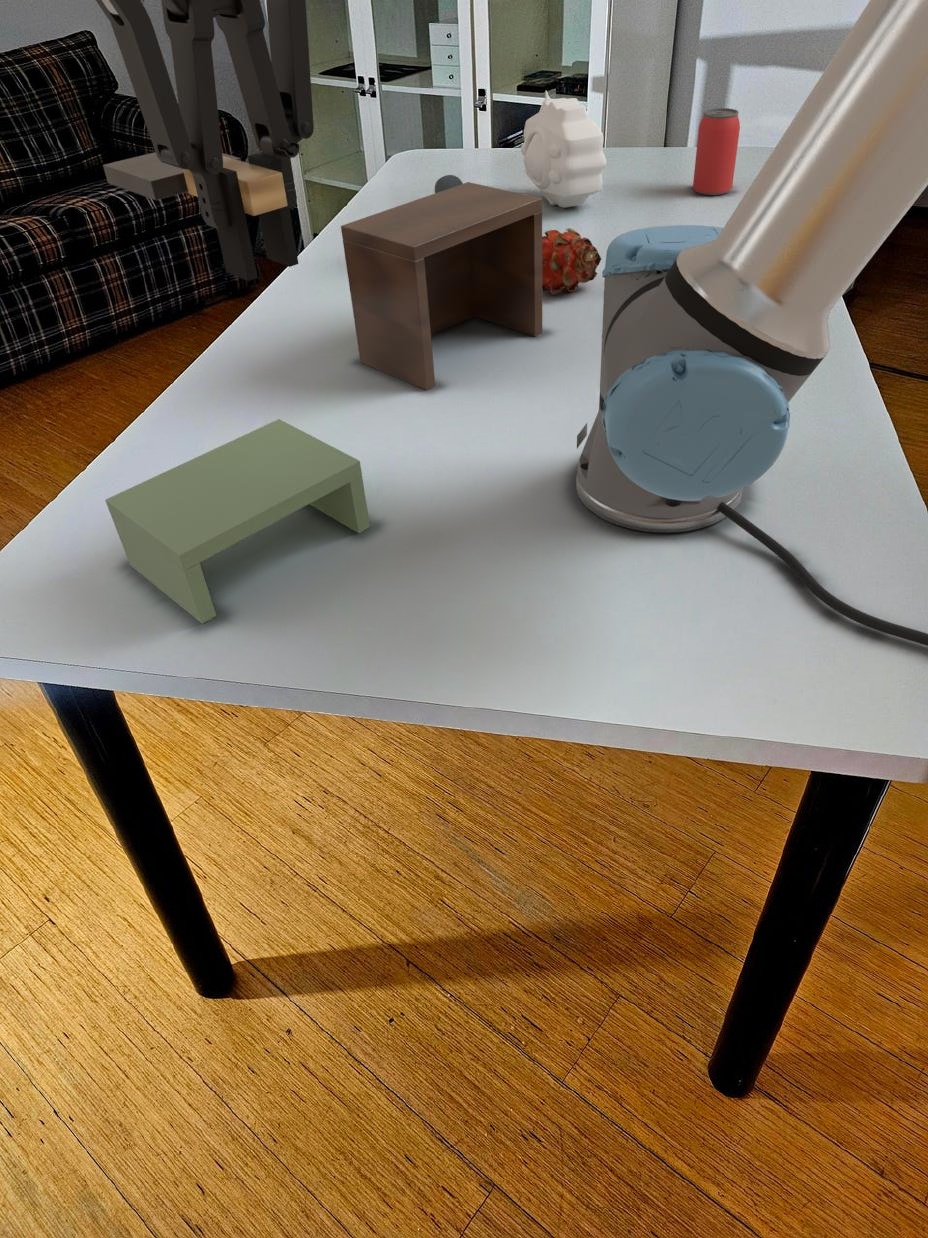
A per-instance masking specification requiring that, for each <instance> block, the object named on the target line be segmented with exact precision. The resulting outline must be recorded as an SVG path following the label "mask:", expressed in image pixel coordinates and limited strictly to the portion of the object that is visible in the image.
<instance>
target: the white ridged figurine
mask: <svg viewBox="0 0 928 1238" xmlns="http://www.w3.org/2000/svg"><path fill="white" fill-rule="evenodd" d="M544 94H545V95H544V97H545V98H544V100H543V101H542V103H541V106H540V109H539V111H538V112H537V113H536V114H534V115H532V116H531V117H530V118H529V117H528V119H526V121H525V123H524V128H523V143H522V144H521V145H520V152H521V154H522V155H523V165H524V170H525V174H526V176H527V177H528V178H529V179H530V181H531V182H532V183H533V184H534V186H535V187H536V188H537V190H538V191H539V192H540V194H542V196H543V197H544V198H545V199H546V200H547V201H548V203H549V204H550V205H551V206H559V208H571V207H576V206H581V205H582V204H583V205H584V203H585V202H586V200H587V199H588V198H590V196H592V195H594V194H597V193H598V192H600V191H602V189H603V172H604V171H605V170H604V169H605V168H606V165H607V158H606V156H605V153H604V149H603V148H604V147H603V146H604V134H603V132H602V130H601V129H600V128H599V127H598V126H597V124H596V123H595V122H594V121H593V120H592V119H591V117H590V116H589V113H588V110H587V107H586V106H585V104H580V103H579V100H578V98H575V97H569V98H567V97H566V98H565V97H560V98H553V99H552V98H551V97H550V96H549V92H548V90H545V93H544Z"/></svg>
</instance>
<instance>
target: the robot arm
mask: <svg viewBox="0 0 928 1238" xmlns="http://www.w3.org/2000/svg"><path fill="white" fill-rule="evenodd" d="M265 1H266V2H265V4H266V16H267V27H268V39H269V48H268V44H267V41H266V36H265V33H264V28H265V26H266V19H265V15H264V12H263V7H262V4H261V0H160V2H161V8H162V17H163V24H164V30H165V34H166V35H167V37H168V38H169V39H170V47H171V55H172V62H173V64H172V65H173V70H174V79H175V87H176V93H175V90H174V87H173V84H172V81H171V78H170V74H169V72H168V68H167V66H166V62H165V59H164V56H163V53H162V49H161V47H160V43H159V40H158V37H157V34H156V31H155V27H154V25H153V23H152V20H151V18H150V15H149V13H148V11H147V9H146V7H145V6H144V3H145V0H95V2H96V3H97V5H98V7H100V9H101V11H102V12H103V13H104V15H105V16H106V18H107V19H108V21H109V22H110V25H111V28H112V31H113V34H114V36H115V39H116V42H117V46H118V48H119V51H120V55H121V57H122V59H123V62H124V65H125V68H126V71H127V74H128V77H129V80H130V82H131V86H132V89H133V91H134V94H135V97H136V99H137V103H138V105H139V108H140V111H141V114H142V117H143V120H144V123H145V126H146V128H147V131H148V132H147V133H148V134H149V137H150V140H151V143H152V146H153V149H154V153H155V152H156V155H157V157H158V159H159V160H160V161H161V162H163V163H166V164H169V165H172V166H175V167H178V168H182V169H185V170H187V169H188V170H189V171H190V172H191V173H192V175H193V178H194V182H195V187H196V191H197V195H198V197H197V199H198V203H199V208H200V212H201V216H202V219H203V220H204V223H205V224H206V226H208V227H211V228H213V229H216V231H217V236H218V242H219V245H220V249H221V254H222V260H223V263H224V268H225V272H226V273H228V274H231V275H233V276H234V277H237V278H240V279H242V280H244V281H247V282H250V281H254V280H255V279H258V278H259V277H258V271H257V267H256V262H255V257H254V252H253V251H254V250H253V247H252V242H251V238H250V237H251V236H250V232H249V226H248V221H247V216H246V213H245V211H244V207H243V202H242V197H241V192H240V187H239V182H238V176H237V171H234V170H230V169H227V168H223V156H222V153H223V146H222V138H221V128H220V116H219V108H218V107H219V106H218V97H217V89H216V88H217V87H216V77H215V69H214V58H213V57H214V56H213V48H212V42H213V40H214V39H215V23H214V18H215V22H216V24H217V26H218V29H220V31H221V32H222V33H223V35H224V38H225V41H226V45H227V48H228V51H229V55H230V59H231V62H232V65H233V68H234V73H235V75H236V79H237V84H238V86H239V90H240V93H241V96H242V100H243V103H244V107H245V110H246V114H247V117H248V121H249V123H250V128H251V131H252V135H253V137H254V141H255V145H256V146H257V148H258V149H259V150H261V153H253V154H249V155H247V160H248V163H249V164H253V165H256V166H260V167H264V168H267V169H271V170H274V171H278V172H281V173H282V176H283V182H284V188H285V194H286V200H287V206H286V207H282V208H279V209H276V210H272V211H269V212H266V213H262V214H259V215H258V217H259V222H260V223H259V224H260V228H261V234H262V239H263V244H264V249H265V254H266V255H265V256H266V259H267V260H270V261H273V262H275V263H277V264H281V265H282V266H285V267H289V268H291V267H294V266H296V265H297V266H298V265H299V258H298V252H297V245H296V240H295V234H294V229H293V223H292V217H291V210H290V209H291V208H295V207H297V200H298V196H297V195H298V194H297V189H296V183H295V177H294V171H293V166H292V158H293V159H294V158H296V157H297V156H298V154H299V153H300V150H301V149H300V147H301V146H300V143H299V142H300V141H302V140H303V139H305V140H308V139H310V138H311V137H312V136H313V133H314V128H315V126H314V124H315V123H314V112H313V111H314V110H313V109H314V108H313V97H312V96H313V95H312V80H311V64H310V63H311V62H310V48H309V30H308V17H307V15H308V14H307V2H306V1H307V0H265ZM269 51H270V52H269ZM176 96H177V97H176ZM927 187H928V0H869V1H868V3H867V4H866V6H865V7H864V9H863V10H862V12H861V13H860V15H859V17H858V18H857V20H856V21H855V23H854V25H853V26H852V28H851V29H850V30H849V32H848V34H847V35H846V37H845V38H844V40H843V41H842V43H841V44H840V46H839V47H838V50H837V51H836V52H835V54H834V56H833V57H832V59H831V60H830V62H829V63H828V64H827V66H826V68H825V70H824V71H823V72H822V74H821V76H820V78H819V79H818V81H817V82H816V84H815V85H814V86H813V88H812V89H811V91H810V93H809V95H807V98H806V99H805V100H804V102H803V104H802V105H801V106H800V109H799V110H798V112H797V113H796V114H795V116H794V118H793V119H792V121H791V123H790V124H789V126H788V128H786V130H785V132H784V133H783V135H782V136H781V138H780V140H779V141H778V143H776V146H775V147H774V149H773V151H771V154H770V155H769V157H768V158H767V160H766V161H765V163H764V164H763V165H762V167H761V169H760V170H759V172H758V174H757V175H756V177H755V178H754V180H753V181H752V183H751V185H749V188H748V189H747V191H746V192H745V194H744V195H743V197H742V199H741V200H740V202H739V203H738V205H737V206H736V208H735V209H734V211H733V212H732V214H731V215H730V217H729V219H728V220H727V222H726V223H725V225H724V227H723V226H722V227H721V226H712V225H697V224H696V225H695V224H681V225H679V224H678V225H676V224H675V225H662V226H661V225H660V226H651V227H644V228H638V229H633V230H629V231H626V232H624V233H621V234H619V235H618V236H616V237H614V238H613V239H612V240H611V242H610V243H609V244H608V246H607V249H606V256H605V263H604V269H603V270H602V272H601V276H602V278H603V279H604V283H603V304H602V305H603V307H602V327H601V328H602V329H601V331H602V332H601V351H600V353H601V354H600V375H599V398H598V399H599V400H598V402H599V403H598V412H597V414H596V417H595V419H594V421H593V424H592V426H591V428H590V431H589V434H588V422H586V423H585V424H584V426H583V427H582V428H581V430H580V431H579V433H578V434H577V435H576V449H579V447H580V445H581V444H582V443H583V442H584V441H585V443H584V446H583V448H582V451H581V453H580V457H579V459H578V463H577V466H576V479H575V481H576V482H575V483H576V484H575V488H576V493H577V496H578V498H579V500H580V501H581V503H582V504H583V505H584V506H585V507H586V509H588V510H589V511H590V512H591V513H593V514H594V515H596V516H597V517H599V518H601V519H602V520H604V521H606V522H609V523H610V524H613V525H617V526H619V527H622V528H625V529H630V530H635V531H640V532H646V533H647V532H648V533H658V534H659V533H663V534H665V533H667V534H668V533H669V534H670V533H684V532H689V531H695V530H699V529H703V528H706V527H709V526H712V525H715V524H716V523H719V522H721V521H722V520H724V519H725V518H728V519H729V520H731V521H732V522H733V523H735V525H737V526H738V527H740V528H741V529H742V530H743V531H745V532H747V534H749V535H750V536H752V537H753V538H754V539H756V540H757V541H758V542H759V543H761V544H762V545H763V546H765V547H766V548H767V549H769V550H770V551H772V553H773V554H775V555H776V556H777V557H778V558H780V560H781V561H783V562H784V563H785V564H786V565H787V566H788V568H789V569H790V570H791V571H792V572H793V573H794V574H795V575H796V576H797V578H798V579H799V580H800V581H801V582H802V584H803V585H804V586H805V587H806V588H807V589H808V590H809V591H810V592H811V593H812V594H813V595H814V596H815V597H816V598H817V599H818V600H820V601H821V602H822V603H823V604H824V605H826V606H827V607H829V608H831V609H832V610H834V611H836V612H837V613H838V614H841V615H842V616H844V617H845V618H848V619H850V620H852V621H853V622H856V623H858V624H860V625H863V626H864V627H867V628H870V629H873V630H876V631H878V632H881V633H884V634H887V635H891V636H892V637H893V636H894V637H897V638H900V639H904V640H907V641H910V642H914V643H917V644H920V645H924V646H926V647H928V633H927V632H924V631H920V630H916V629H913V628H910V627H906V626H903V625H899V624H896V623H893V622H890V621H887V620H885V619H880V618H878V617H875V616H873V615H871V614H867V613H866V612H863V611H862V610H859V609H857V608H854V607H853V606H851V605H849V604H847V603H846V602H845V601H842V600H841V599H839V598H837V597H836V596H835V595H833V594H832V593H830V592H829V591H828V590H827V589H825V588H824V587H823V586H822V585H821V584H820V583H819V582H818V581H817V580H816V579H815V578H814V577H813V575H811V573H810V572H809V571H808V570H807V569H806V567H805V566H804V565H803V564H802V563H801V562H800V561H799V560H798V559H797V558H796V557H795V556H794V555H793V554H792V553H791V552H790V551H788V550H787V549H786V548H785V547H784V546H783V545H781V544H780V542H778V541H776V539H774V538H773V537H772V536H770V535H769V534H767V533H766V532H765V531H763V530H762V529H760V528H759V527H758V526H757V525H755V524H754V523H753V522H751V521H750V520H749V519H747V518H746V517H745V516H744V515H742V514H740V512H737V511H736V509H737V508H738V506H739V504H740V503H741V499H742V494H743V491H744V489H745V488H747V487H749V486H750V485H752V484H753V483H755V482H756V481H758V480H759V479H760V478H761V477H762V476H764V475H765V474H766V473H767V472H768V471H769V470H770V469H771V468H772V467H773V465H775V463H776V462H777V460H778V458H779V457H780V455H781V454H782V452H783V450H784V447H785V444H786V441H787V437H788V433H789V429H790V426H791V425H790V424H791V423H790V420H791V413H790V405H789V403H790V402H791V400H792V399H793V398H794V397H795V395H796V394H797V392H798V391H799V390H800V389H801V387H802V386H803V385H804V384H805V382H806V381H807V380H808V379H809V377H811V375H812V374H813V372H814V371H815V370H816V369H817V367H819V365H820V364H821V362H822V361H823V360H824V358H826V356H827V355H828V353H829V351H831V339H830V329H829V318H830V317H829V316H830V313H831V311H832V310H833V308H834V307H835V305H836V304H837V303H838V302H839V300H840V299H841V298H842V297H843V295H844V294H845V293H846V291H847V290H848V289H849V288H850V286H851V285H852V284H853V282H854V281H855V280H856V279H857V277H858V276H859V274H860V273H861V272H862V270H863V269H865V267H866V266H867V264H868V263H869V262H870V260H871V259H872V258H873V256H874V255H875V254H876V252H878V250H879V249H880V247H881V246H882V245H883V243H884V242H885V241H886V240H887V238H888V237H889V236H890V234H892V232H893V230H894V229H895V228H896V227H897V225H898V224H899V223H900V221H901V220H902V219H903V217H904V216H905V215H906V214H907V212H908V211H909V210H910V209H911V208H912V206H913V205H914V204H915V202H916V201H917V200H918V198H919V197H920V196H921V194H922V193H923V192H924V191H925V190H926V188H927ZM586 438H587V439H586ZM585 439H586V440H585Z"/></svg>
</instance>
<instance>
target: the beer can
mask: <svg viewBox="0 0 928 1238" xmlns="http://www.w3.org/2000/svg"><path fill="white" fill-rule="evenodd" d="M739 114H740V113H739V111H738V110H737V109H734V108H728V107H716V108H710V109H706V110H705V111H703V115H702V117H701V120H700V122H699V124H698V133H697V140H696V141H697V142H696V150H695V162H694V170H693V171H694V172H693V183H692V190H693V191H694V192H696V194H700V195H703V196H721V195H725V194H727V193H729V192H730V191H731V190H732V189H733V185H734V176H735V170H736V162H737V154H738V146H739V138H740V129H741V124H740V119H739Z"/></svg>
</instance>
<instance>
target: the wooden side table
mask: <svg viewBox="0 0 928 1238" xmlns="http://www.w3.org/2000/svg"><path fill="white" fill-rule="evenodd" d="M422 197H423V198H420V197H419V198H420V199H419V198H418V199H415V200H412V201H408V202H406V203H403V204H400V205H397V206H394V207H391V208H388V209H386V210H383V211H381V212H376V213H374V214H371V215H369V216H366V217H363V218H360V219H357V220H354V221H351V222H348V223H345V224H342V225H341V226H340V230H341V238H342V246H343V253H344V258H345V265H346V272H347V279H348V280H347V281H348V286H349V293H350V300H351V308H352V313H353V314H352V316H353V321H354V327H355V335H356V336H355V337H356V342H357V349H358V355H359V362H360V363H361V364H363V365H365V366H368V367H371V368H373V369H375V370H377V371H380V372H383V373H385V374H387V375H389V376H392V377H393V378H396V379H398V380H401V381H403V382H406V383H409V384H411V385H413V386H416V387H417V388H421V389H423V390H425V391H428V390H430V389H432V388H434V387H436V378H435V366H434V355H433V342H432V336H433V335H435V334H438V333H439V332H442V331H444V330H446V329H448V328H451V327H453V326H455V325H457V324H460V323H461V322H464V321H467V320H468V319H470V318H473V317H476V318H479V319H481V320H484V321H488V322H490V323H493V324H496V325H499V326H502V327H505V328H507V329H508V328H509V329H512V330H514V331H517V332H519V333H523V334H526V335H529V336H532V337H537V336H539V335H542V334H543V288H542V237H543V198H542V197H539V196H535V195H529V194H525V193H521V192H517V191H516V192H515V191H511V190H507V189H502V188H497V187H493V186H489V185H483V184H479V183H474V182H471V181H470V182H469V181H467V182H463V184H461V185H458V186H455V187H452V188H449V189H447V190H444V191H441V192H438V193H435V192H434V193H432V194H430V195H427V196H422Z"/></svg>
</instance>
